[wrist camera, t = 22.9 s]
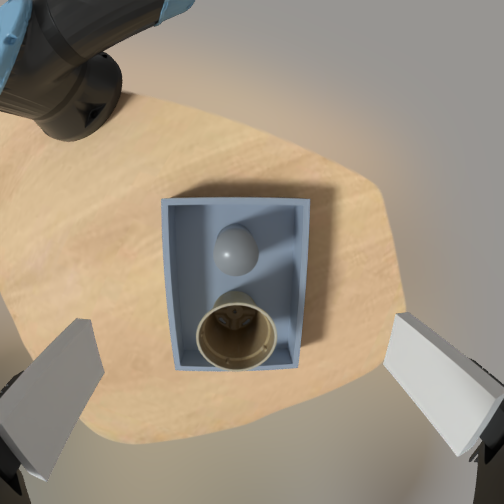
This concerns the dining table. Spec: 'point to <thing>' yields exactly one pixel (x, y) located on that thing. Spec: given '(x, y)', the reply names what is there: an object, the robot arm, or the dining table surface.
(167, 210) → the tote
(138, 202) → the dining table surface
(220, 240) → the canister
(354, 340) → the dining table surface
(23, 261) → the dining table surface
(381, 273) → the dining table surface
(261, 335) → the flower pot
